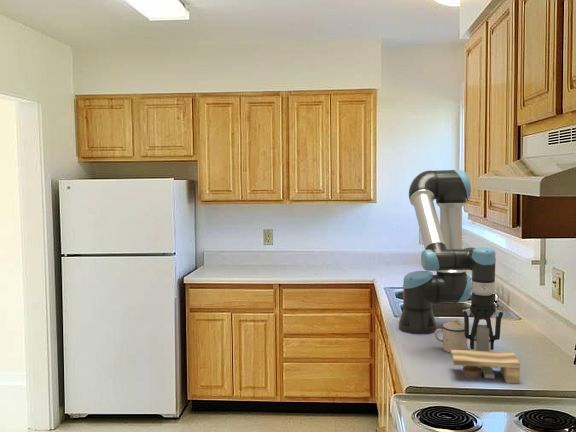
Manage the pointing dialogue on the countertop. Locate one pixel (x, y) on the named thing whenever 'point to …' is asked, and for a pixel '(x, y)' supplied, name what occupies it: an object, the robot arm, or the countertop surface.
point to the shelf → (490, 362)
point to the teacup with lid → (453, 336)
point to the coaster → (472, 371)
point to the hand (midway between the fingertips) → (481, 358)
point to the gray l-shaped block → (483, 347)
